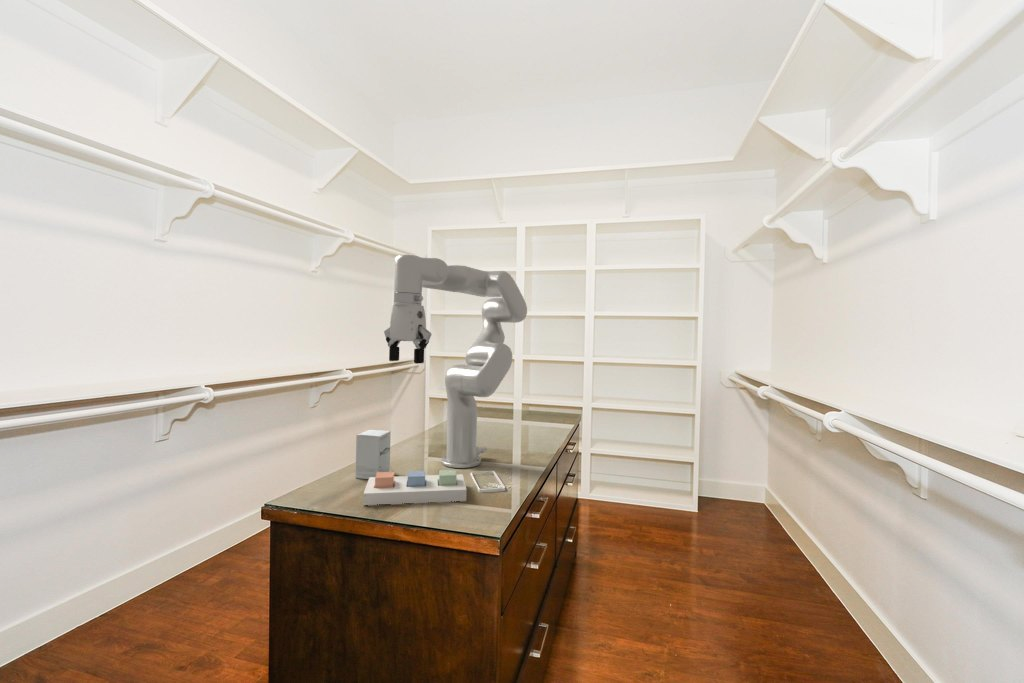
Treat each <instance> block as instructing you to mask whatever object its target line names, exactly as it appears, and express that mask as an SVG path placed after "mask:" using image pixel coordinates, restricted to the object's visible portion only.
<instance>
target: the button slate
mask: <svg viewBox="0 0 1024 683" xmlns="http://www.w3.org/2000/svg"><path fill="white" fill-rule="evenodd" d="M425 475H426V470H408V471H407V476H408V487H418V486H425Z"/></svg>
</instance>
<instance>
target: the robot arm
mask: <svg viewBox="0 0 1024 683" xmlns="http://www.w3.org/2000/svg"><path fill="white" fill-rule="evenodd" d="M393 282H394V285H393V286H394V287H393V288H394V289H393V293H394V294H393V305H392V307H391V308H392V309H391V313H390V314H391V315H390V324H389V327H387V328H386V329H385V330H384V331H383V332H384V336H385V341H386V343H387V346H388V349H389V352H388V356H389V358H388V360H389V362H399V361H400V346H399V344H400V343H401V342H412V343H413V344H414V347H415V348H414V350H413V351H414V352H413V363H414V364H416V365H417V364H424V362H425V349H427V346H428V345H429V342H430V340H431V337H432V332H431V331H429V330H428V329H427V322H426V321H427V320H426V312H425V307H424V305H422V301H423V300H424V296H422V295H423V288H426V289H431V290H438V291H439V290H440V291H446V292H452V293H458V294H459V293H460V294H466V295H471V296H476V297H483V298H489V299H487V300H485V301H484V302H483V304H482V307H481V317H482V318H481V319H482V330H481V332H480V334H478V336H477V338H476V339H475V340H474V342H473V343H472V345H471V346H470V347H469V349H468V351H467V352H466V354H465V363H466V364H456V365H452V366H451V367H450V368H448V370H447V371H446V373H445V375H444V376H445V377H444V384H445V385H444V386H445V392H446V398H447V399H446V400H447V417H446V418H447V419H446V420H447V421H446V455H445V456H443V457H441V460H440V461H441V464H442V465H443V466H445V467H449V468H453V469H468V468H474V467H477V466H479V465H480V464H481V462H482V461H481V460H482V458H481V457H480V456H479V455H480V454H484V453H486V452H487V450H488V449H487V447H486V446H481V447H478V446H477V436H478V435H477V434H478V433H477V431H478V427H477V426H478V405H477V401H476V398H475V397H477V398H489V397H490V396H492V395H493V394H494V393H495V392H496V391H497V390H498V388H499V386H500V384H501V383H502V382H503V380H504V378H505V376H506V375H507V373H508V372H509V370H510V368H511V366H512V362H513V351H512V349H511V348H510V347H509V346H508V345H507V344H505V343H504V342H505V339H506V338H505V333H504V330H503V327H502V324H501V323H509V324H510V323H513V324H514V323H520V322H523V321H524V320H525V319H526V317H527V314H528V305H527V303H526V300H525V298H524V296H523V295H522V293H521V291H520V288H519V287H518V284H517V283H516V281H515V280H514V278H513V277H512V275H511V274H510V273H509V272H507V271H506V270H497V271H487V270H486V271H485V270H481V269H478V268H474V267H470V266H467V265H459V264H457V265H456V264H454V265H448V264H447V263H446V262H445V261H444V260H443V259H441V258H436V257H421V256H419V255H414V254H400V255H396V257H395V259H394V281H393Z"/></svg>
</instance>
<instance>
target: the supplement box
mask: <svg viewBox="0 0 1024 683" xmlns="http://www.w3.org/2000/svg"><path fill="white" fill-rule="evenodd" d="M355 444H356V445H355V478H356V479H364V480H369V477H376V474H377V472H391V470H390V468H391V465H390V464H391V430H383V429H382V430H381V429H379V430H378V429H367V430H365V431H363V432H360V433H359V434H356V441H355Z"/></svg>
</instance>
